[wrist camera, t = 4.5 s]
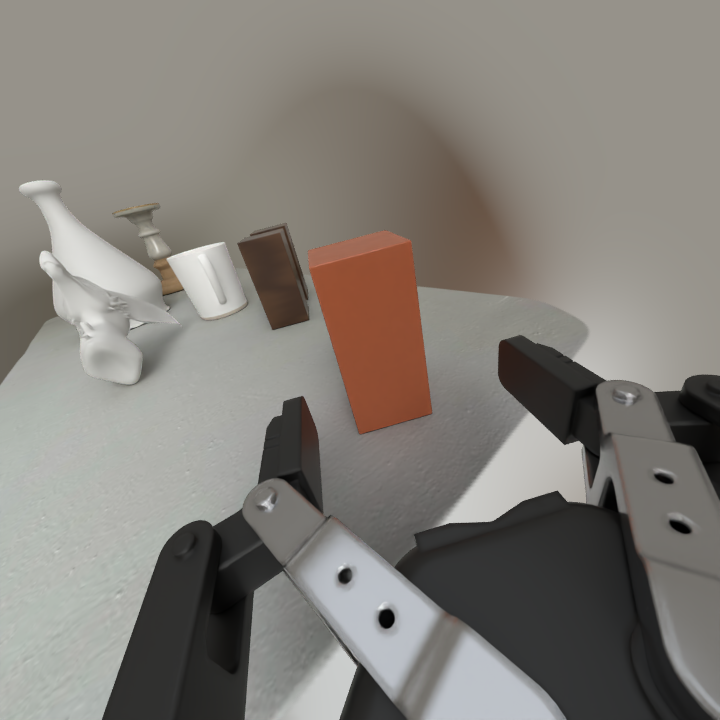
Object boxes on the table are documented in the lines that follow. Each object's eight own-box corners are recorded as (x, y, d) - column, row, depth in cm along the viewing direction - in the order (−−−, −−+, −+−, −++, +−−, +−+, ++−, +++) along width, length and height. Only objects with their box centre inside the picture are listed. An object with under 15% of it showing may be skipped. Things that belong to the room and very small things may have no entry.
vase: (85, 349, 50) (-49, 180, 38) (74, 334, 61) (-33, 201, 49) (186, 307, 60) (106, 163, 47) (160, 301, 71) (90, 183, 59)
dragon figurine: (-61, 324, 21) (-29, 245, 29) (105, 435, 35) (98, 363, 43) (122, 272, 26) (109, 214, 33) (207, 390, 39) (185, 331, 47)
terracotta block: (409, 374, 24) (385, 229, 18) (432, 414, 20) (411, 239, 14) (349, 391, 24) (307, 250, 18) (359, 435, 19) (308, 267, 14)
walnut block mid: (308, 307, 43) (282, 228, 38) (309, 320, 39) (280, 232, 34) (275, 316, 43) (244, 237, 38) (272, 330, 39) (236, 243, 33)
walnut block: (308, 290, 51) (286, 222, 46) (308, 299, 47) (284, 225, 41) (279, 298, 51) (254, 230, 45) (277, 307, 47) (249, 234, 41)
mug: (196, 314, 54) (165, 257, 49) (244, 297, 57) (220, 241, 52) (203, 330, 45) (167, 262, 40) (259, 308, 48) (232, 243, 43)
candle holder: (157, 290, 86) (113, 215, 75) (201, 277, 89) (165, 203, 79) (151, 299, 76) (100, 213, 65) (201, 284, 79) (159, 200, 69)
